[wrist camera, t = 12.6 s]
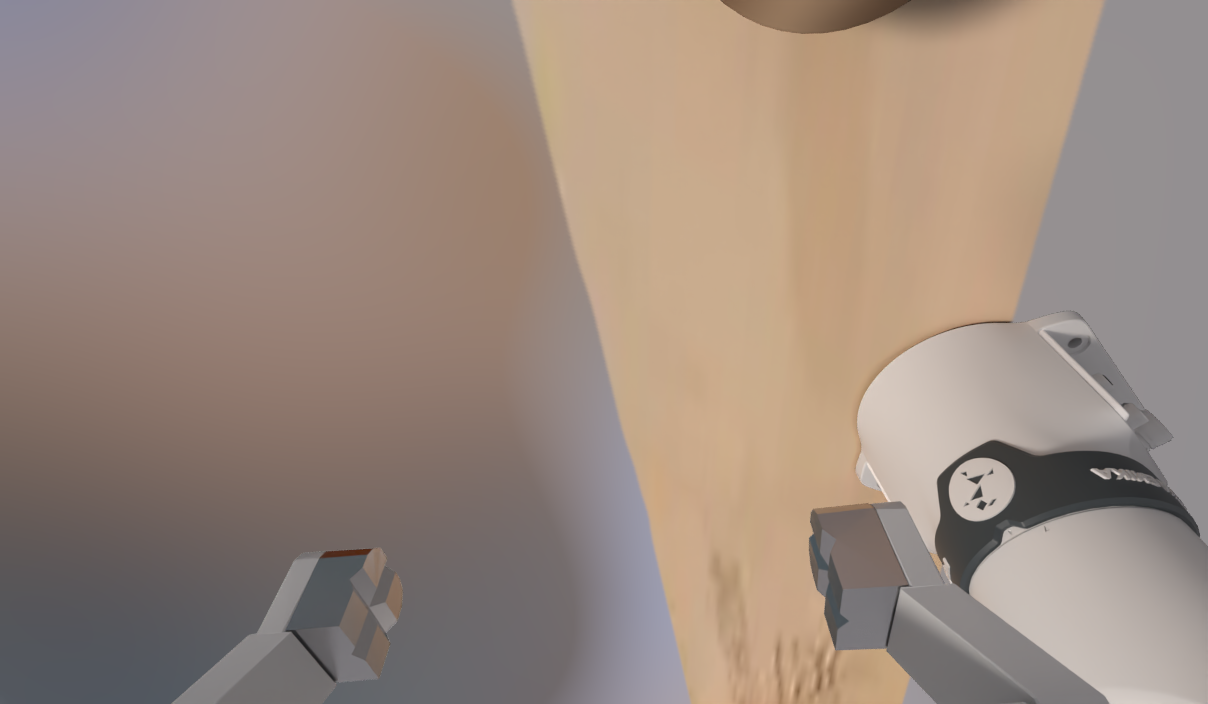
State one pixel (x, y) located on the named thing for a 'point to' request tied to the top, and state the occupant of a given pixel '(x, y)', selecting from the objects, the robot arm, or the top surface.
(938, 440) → the robot arm
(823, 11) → the walnut lid
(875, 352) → the top surface
